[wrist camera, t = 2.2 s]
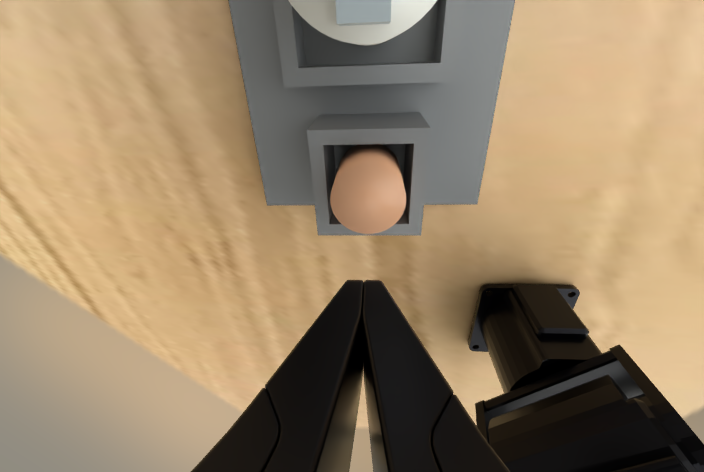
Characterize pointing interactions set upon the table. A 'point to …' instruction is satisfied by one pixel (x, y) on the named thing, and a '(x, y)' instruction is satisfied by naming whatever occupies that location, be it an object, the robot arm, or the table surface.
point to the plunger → (368, 189)
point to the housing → (373, 102)
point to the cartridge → (362, 18)
